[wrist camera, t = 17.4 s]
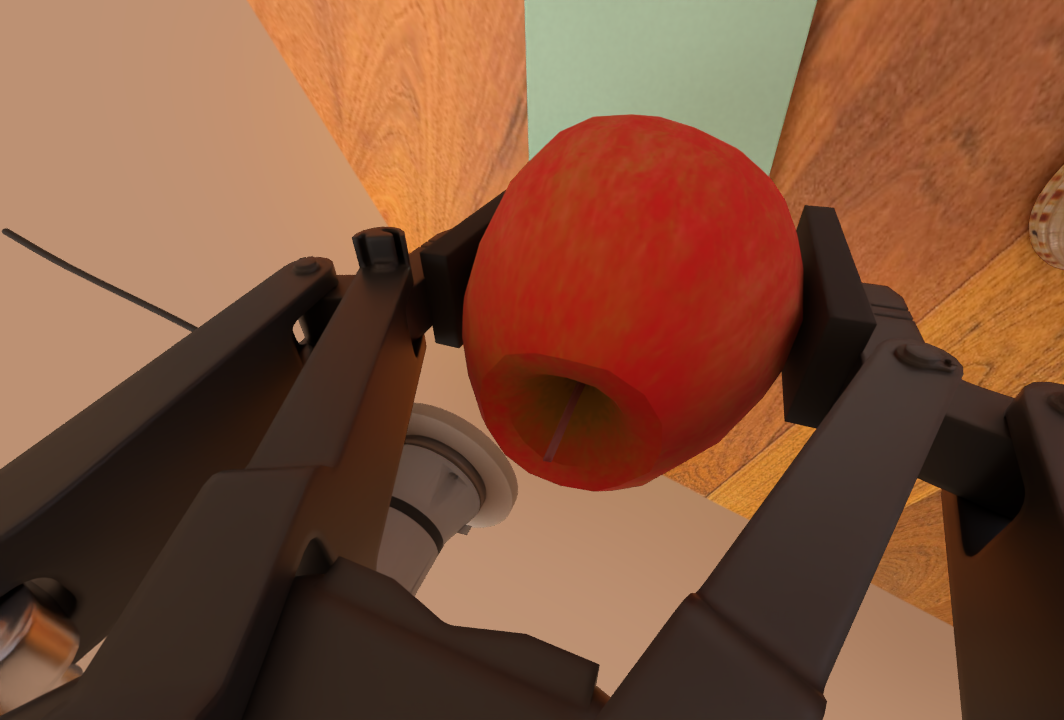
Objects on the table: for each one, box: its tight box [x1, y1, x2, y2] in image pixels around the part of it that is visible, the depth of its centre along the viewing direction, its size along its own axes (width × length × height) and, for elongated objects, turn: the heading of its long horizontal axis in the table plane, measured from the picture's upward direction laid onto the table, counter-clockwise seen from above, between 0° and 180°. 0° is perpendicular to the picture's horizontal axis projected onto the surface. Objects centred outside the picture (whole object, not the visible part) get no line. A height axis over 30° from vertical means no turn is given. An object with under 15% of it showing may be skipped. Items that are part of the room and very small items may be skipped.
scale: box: [524, 0, 817, 176], centre depth 27 cm, size 15×14×3 cm
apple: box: [462, 114, 804, 491], centre depth 12 cm, size 8×8×11 cm
